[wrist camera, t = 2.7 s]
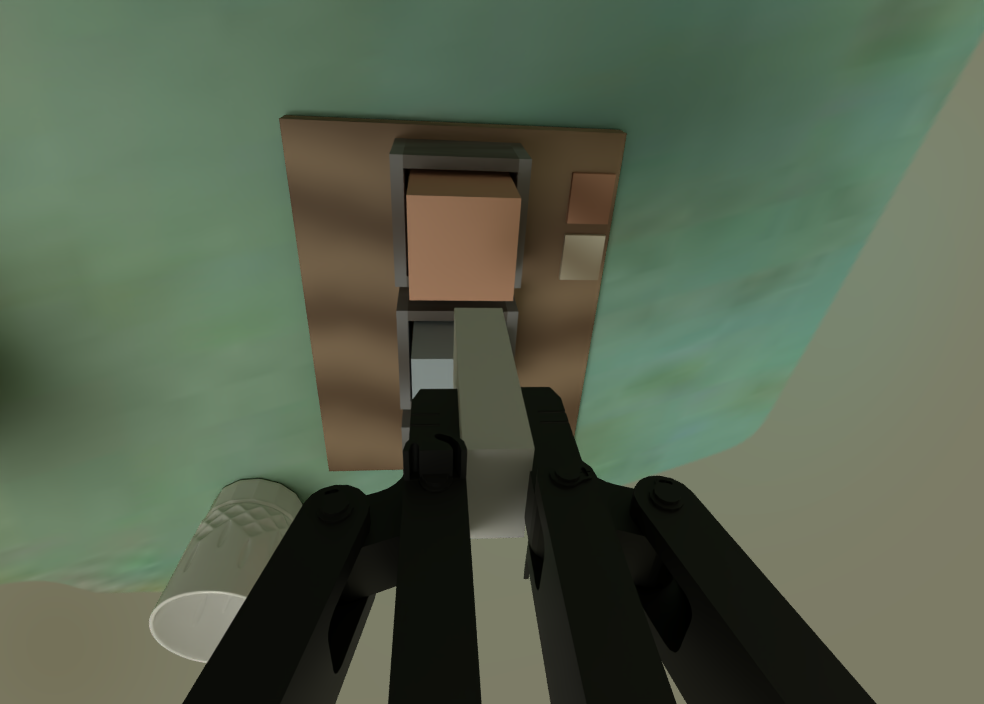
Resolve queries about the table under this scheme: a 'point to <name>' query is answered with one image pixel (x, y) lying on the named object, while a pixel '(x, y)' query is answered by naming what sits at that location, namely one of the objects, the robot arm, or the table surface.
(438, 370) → the slate key
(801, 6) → the table surface
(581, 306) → the board
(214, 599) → the white cup
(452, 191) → the terracotta key
